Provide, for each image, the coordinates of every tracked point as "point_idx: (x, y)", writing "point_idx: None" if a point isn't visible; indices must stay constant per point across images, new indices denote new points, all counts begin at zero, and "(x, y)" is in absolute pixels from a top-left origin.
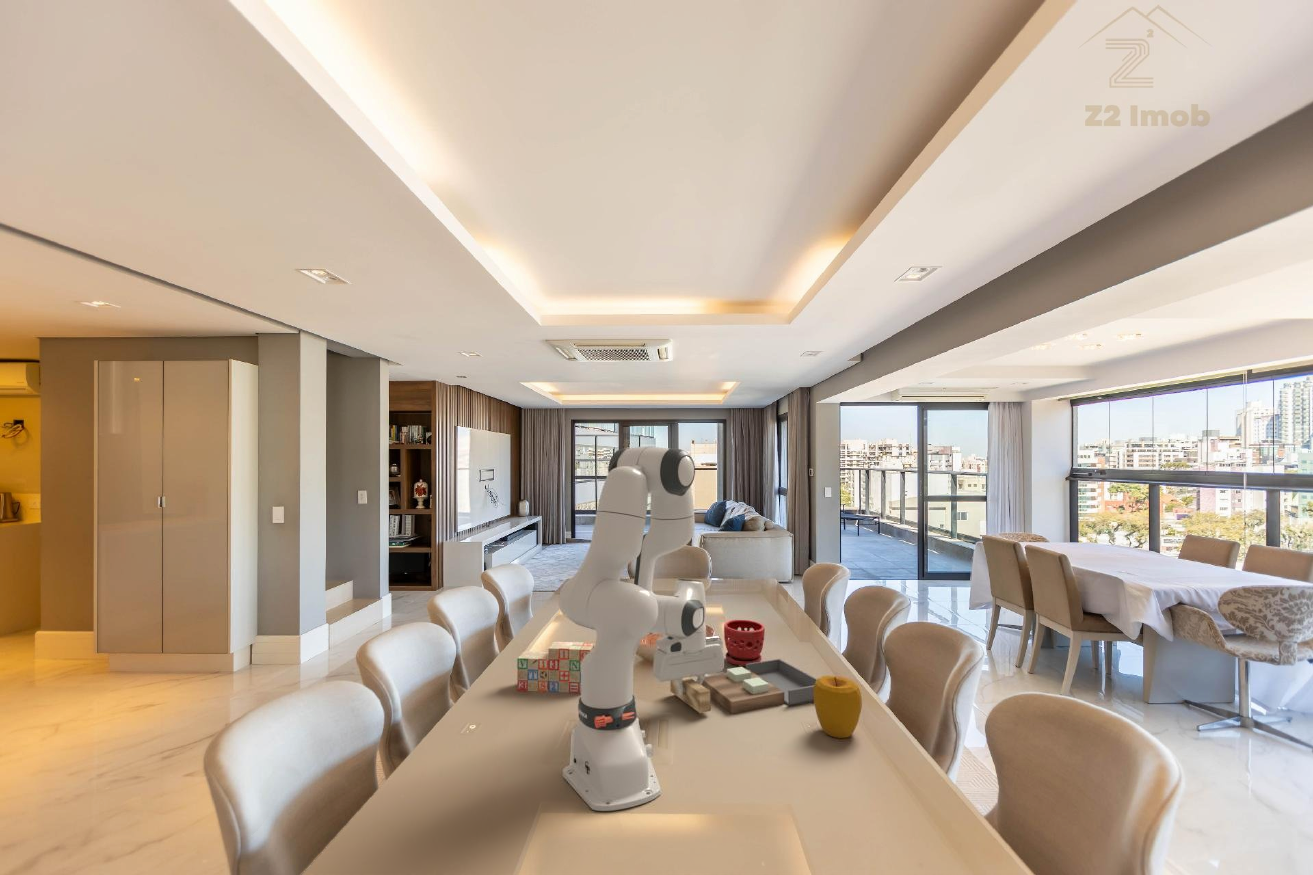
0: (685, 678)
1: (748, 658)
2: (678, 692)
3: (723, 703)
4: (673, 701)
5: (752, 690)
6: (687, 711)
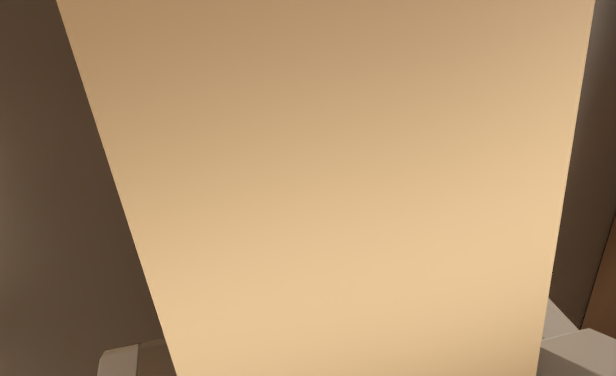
0: (384, 374)
1: None
2: (103, 361)
3: None
4: None
5: None
6: None
